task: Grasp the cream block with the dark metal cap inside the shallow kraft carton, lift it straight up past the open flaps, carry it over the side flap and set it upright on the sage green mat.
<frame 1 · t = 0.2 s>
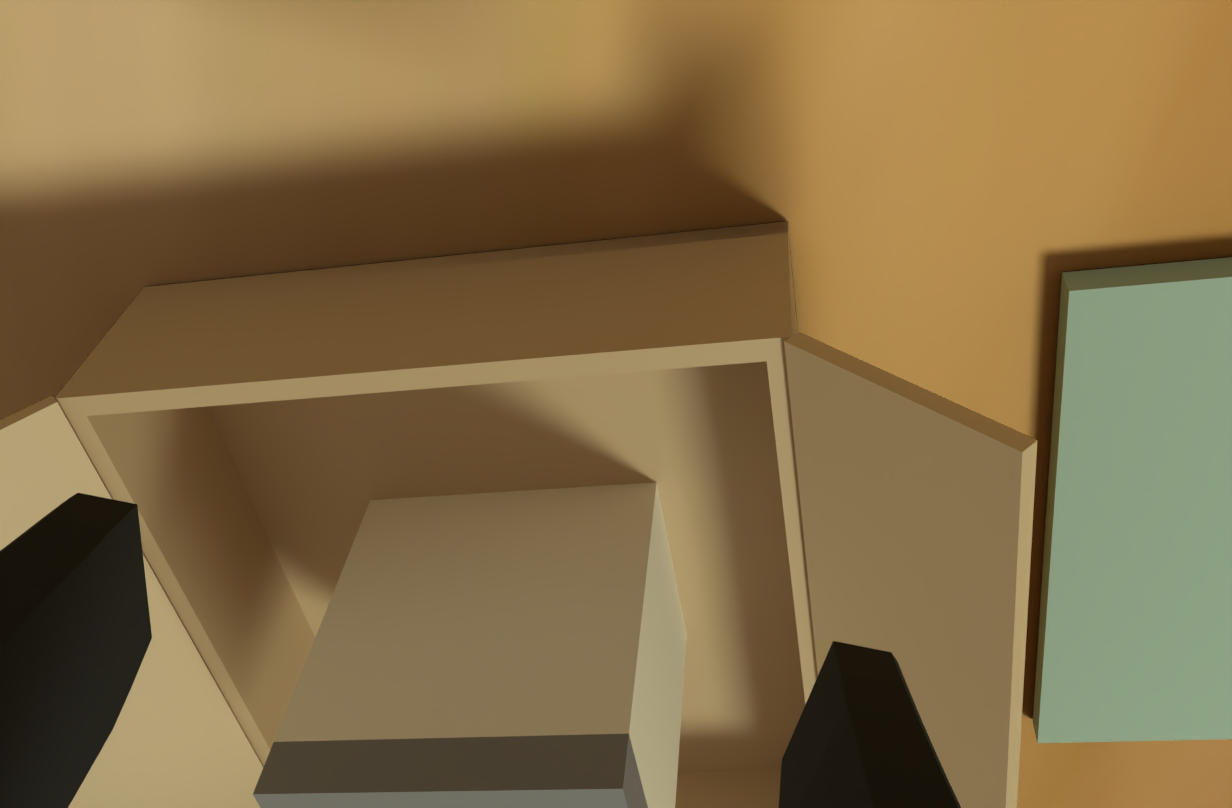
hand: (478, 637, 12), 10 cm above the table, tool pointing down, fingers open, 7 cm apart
carton: (536, 557, 25), on the table
block: (533, 570, 25), resting on carton
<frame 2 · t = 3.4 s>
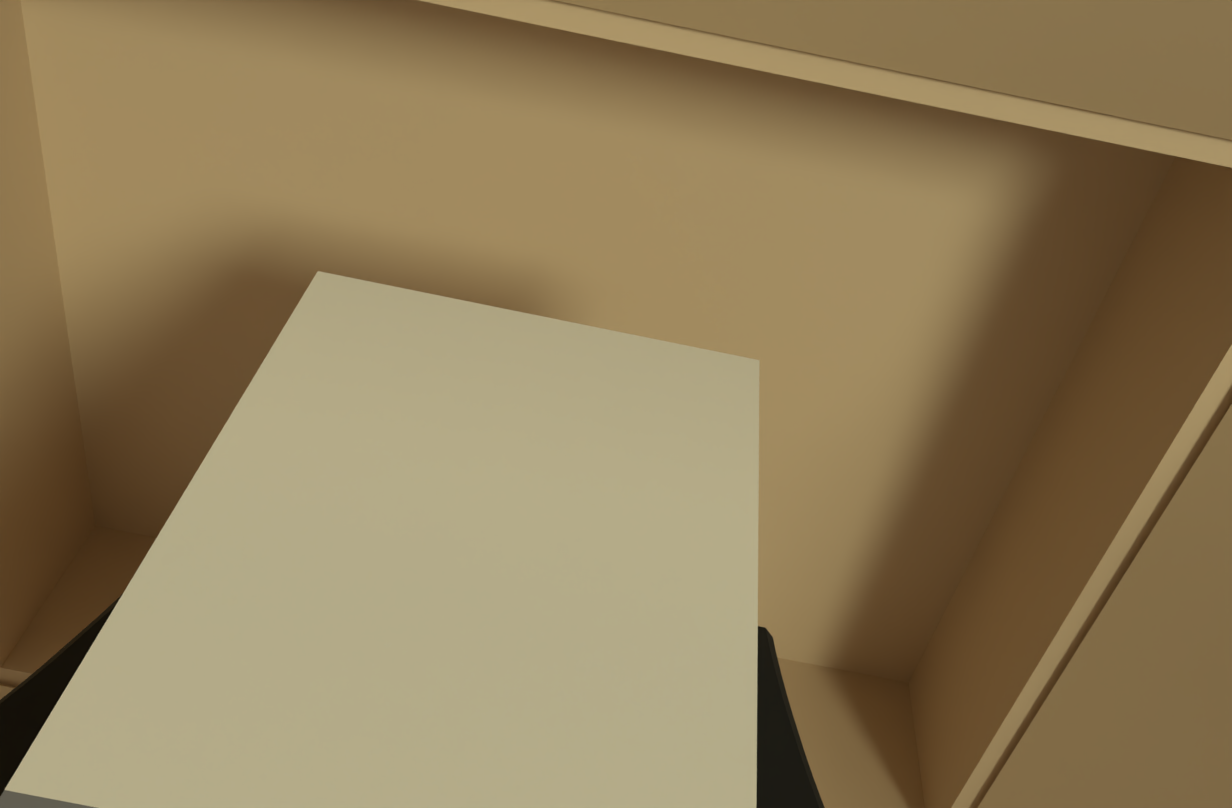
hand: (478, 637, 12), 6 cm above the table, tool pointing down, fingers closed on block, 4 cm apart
carton: (553, 325, 17), on the table
block: (505, 529, 13), point 4 cm above the table, touching gripper
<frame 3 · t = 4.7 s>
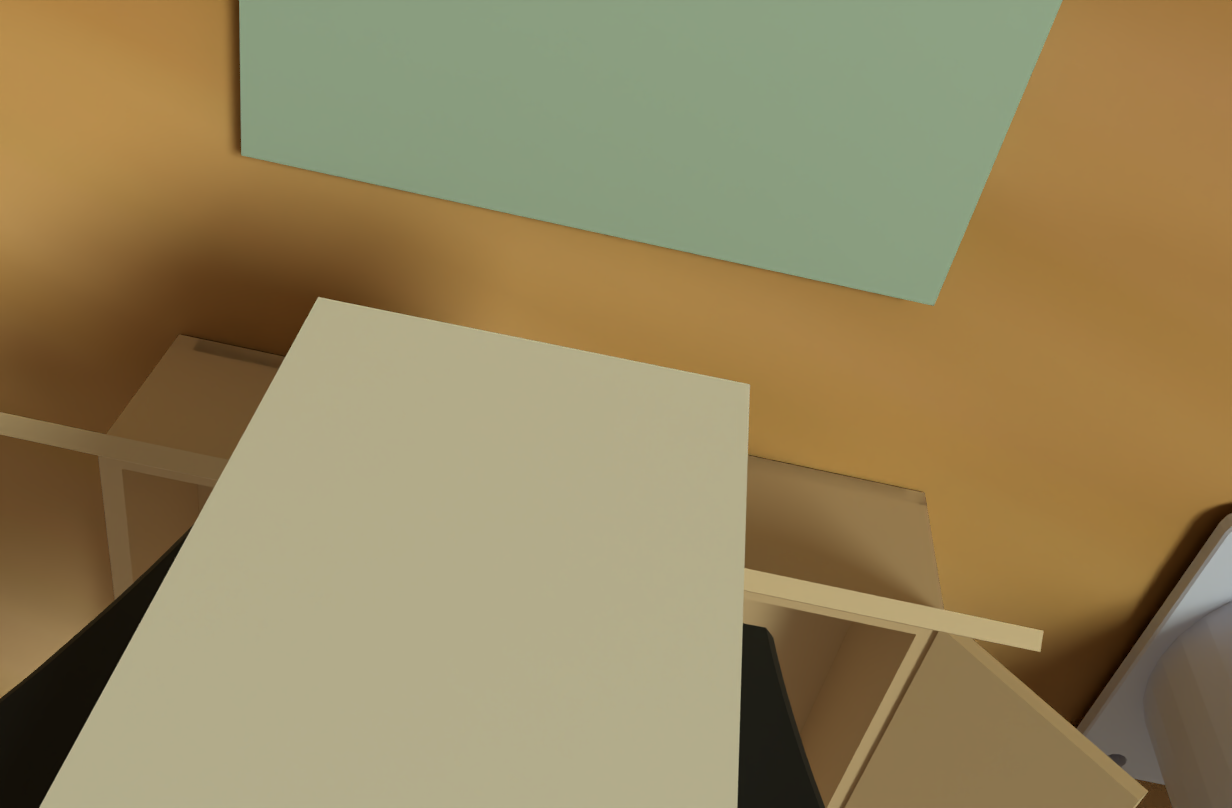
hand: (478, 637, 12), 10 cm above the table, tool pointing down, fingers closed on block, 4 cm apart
carton: (515, 616, 27), on the table
block: (503, 539, 14), point 8 cm above the table, touching gripper
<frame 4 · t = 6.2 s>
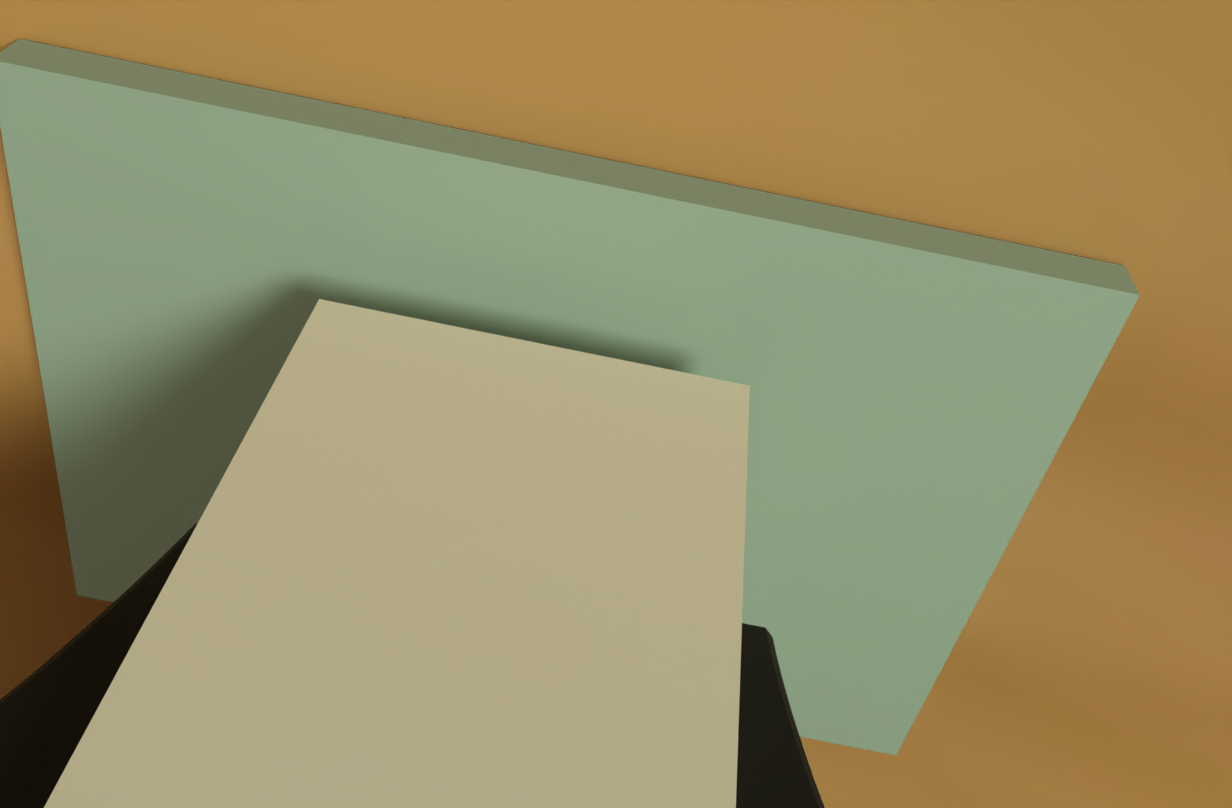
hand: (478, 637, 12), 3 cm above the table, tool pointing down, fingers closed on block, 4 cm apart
block: (505, 539, 14), point 1 cm above the table, touching gripper
pad: (531, 439, 15), on the table
when the fingers open (3 cm above the table, at t = 7.2 s): block stays where it is, resting on pad.
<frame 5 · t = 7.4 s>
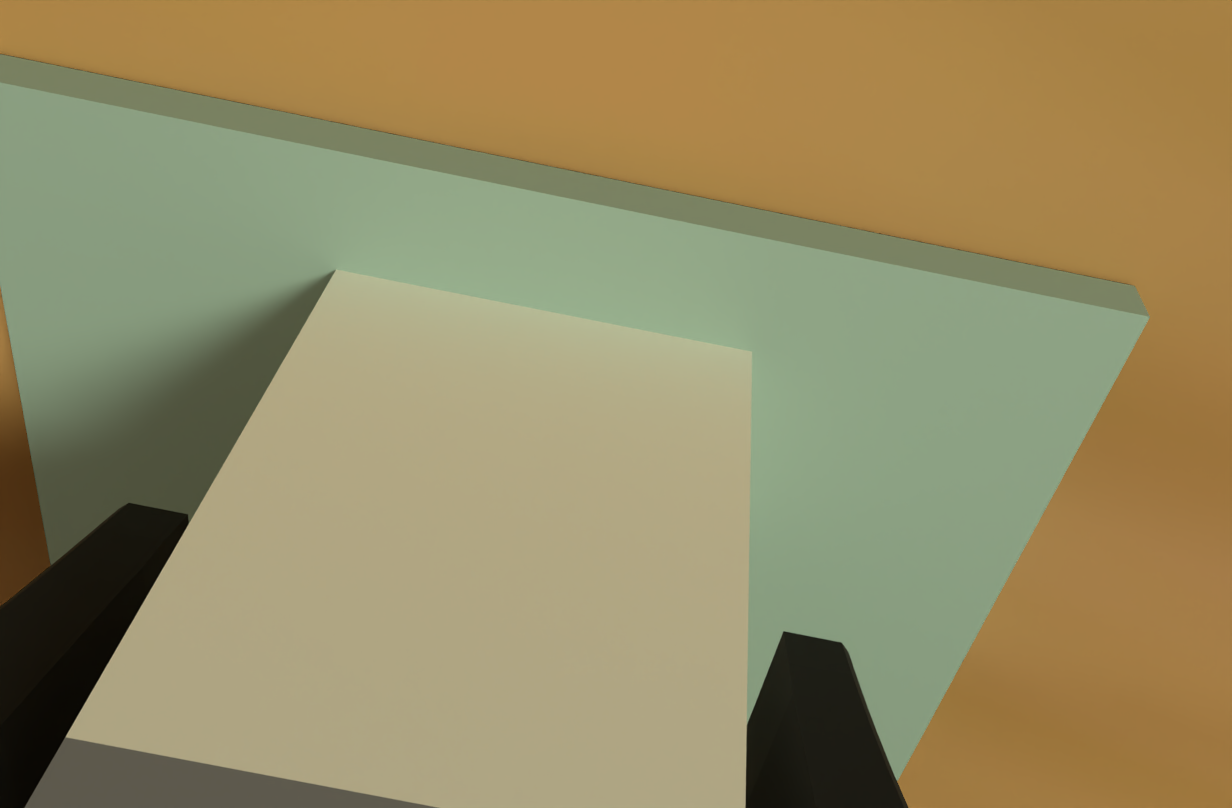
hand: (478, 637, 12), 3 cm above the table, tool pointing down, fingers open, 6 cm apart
block: (513, 514, 14), point 1 cm above the table, touching pad
pad: (523, 460, 14), on the table
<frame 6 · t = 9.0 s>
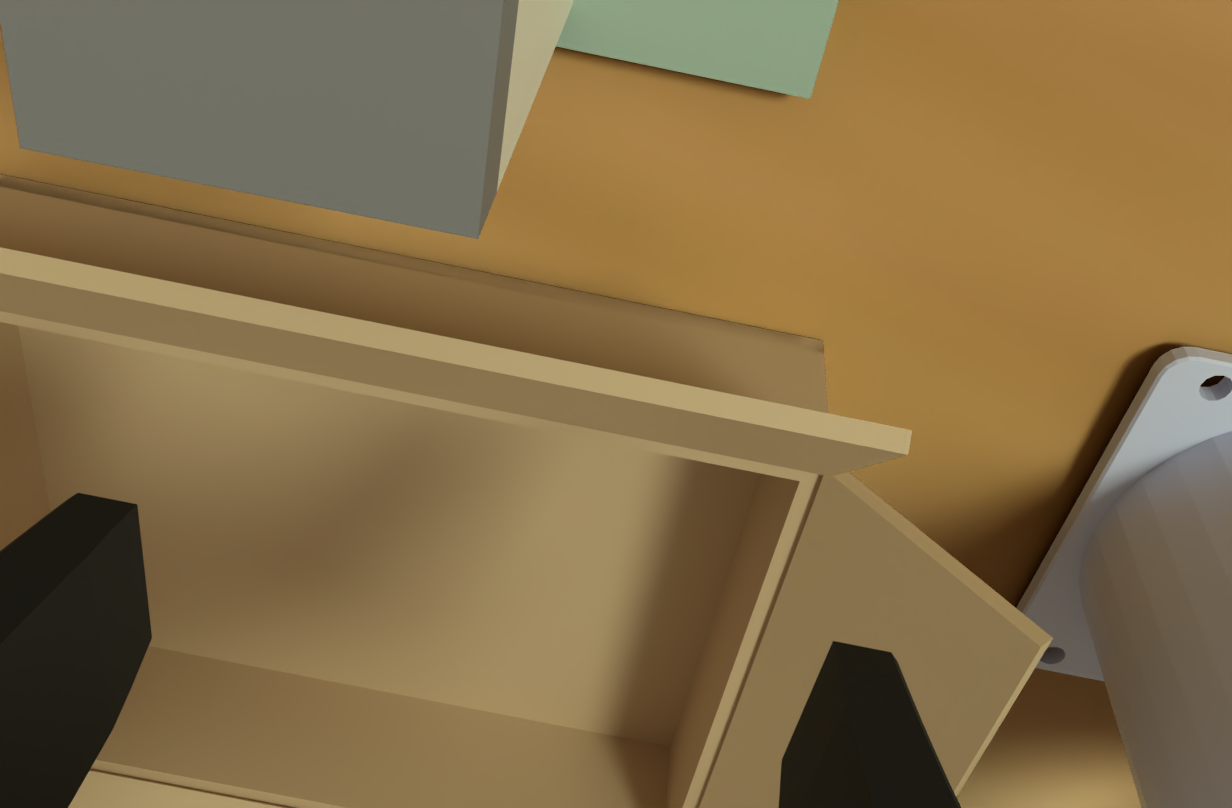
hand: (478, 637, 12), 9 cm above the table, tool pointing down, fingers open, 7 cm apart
carton: (389, 503, 24), on the table
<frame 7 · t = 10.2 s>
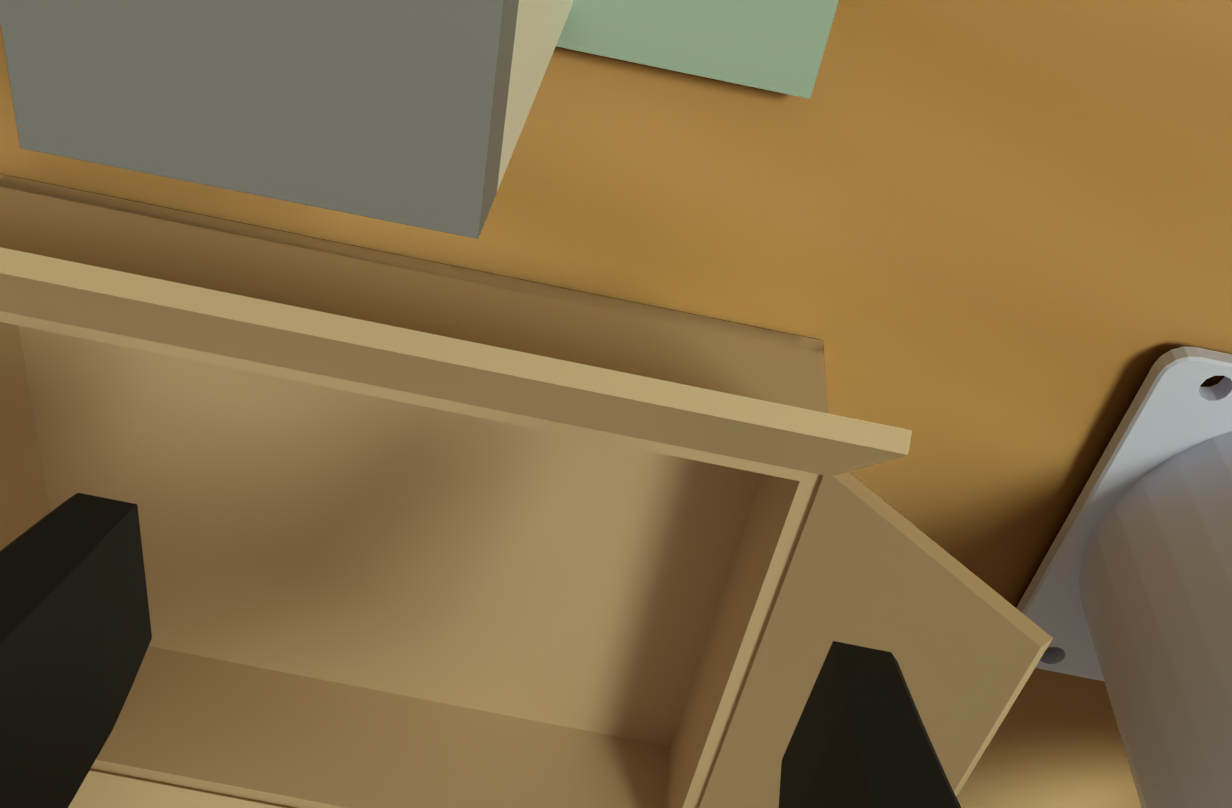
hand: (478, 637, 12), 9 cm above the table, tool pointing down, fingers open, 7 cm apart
carton: (389, 503, 24), on the table
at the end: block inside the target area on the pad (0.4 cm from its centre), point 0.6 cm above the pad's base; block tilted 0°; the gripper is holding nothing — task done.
